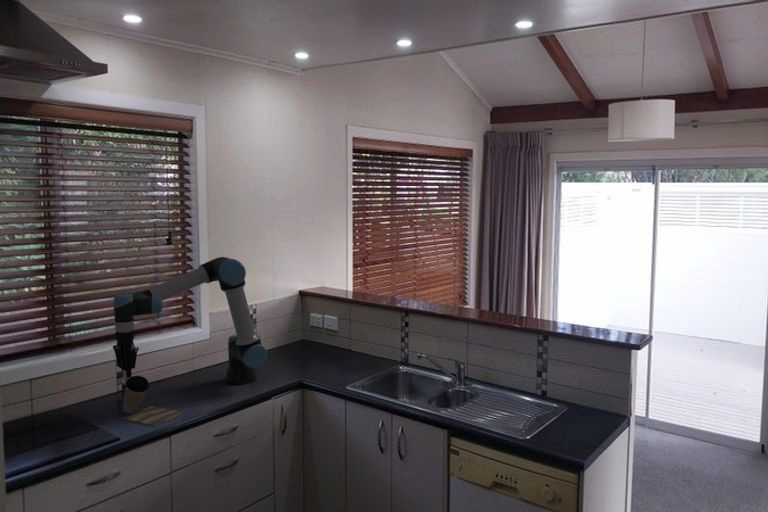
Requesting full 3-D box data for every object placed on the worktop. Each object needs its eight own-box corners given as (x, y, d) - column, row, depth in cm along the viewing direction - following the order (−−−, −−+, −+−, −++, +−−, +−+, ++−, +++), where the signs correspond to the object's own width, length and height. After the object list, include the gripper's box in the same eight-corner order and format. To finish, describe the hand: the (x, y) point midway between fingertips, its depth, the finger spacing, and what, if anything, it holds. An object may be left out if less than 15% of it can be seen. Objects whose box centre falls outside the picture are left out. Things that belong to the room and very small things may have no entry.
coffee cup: (113, 409, 267) (122, 381, 262) (126, 398, 276) (135, 371, 271) (133, 419, 267) (142, 391, 262) (145, 408, 276) (154, 381, 271)
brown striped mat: (183, 413, 270) (183, 412, 269) (156, 426, 255) (156, 425, 255) (152, 407, 277) (151, 406, 277) (123, 419, 262) (123, 418, 262)
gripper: (106, 331, 267) (109, 384, 270) (129, 334, 262) (131, 388, 264) (120, 327, 274) (123, 379, 277) (142, 330, 268) (145, 383, 271)
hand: (127, 384), depth 271 cm, fingers closed
